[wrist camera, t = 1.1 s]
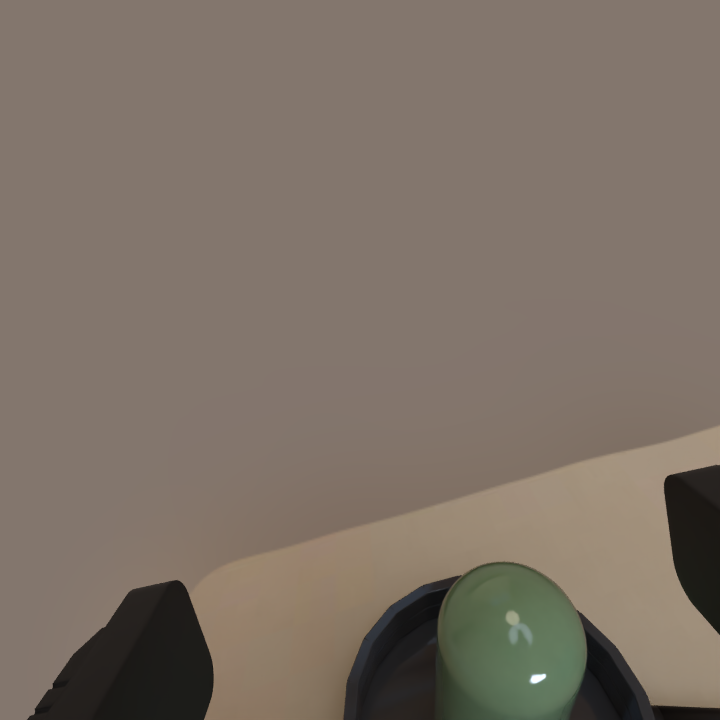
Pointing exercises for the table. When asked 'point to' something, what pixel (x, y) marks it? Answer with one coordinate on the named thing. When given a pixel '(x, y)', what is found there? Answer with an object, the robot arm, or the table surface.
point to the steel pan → (418, 665)
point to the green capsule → (508, 647)
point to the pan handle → (685, 713)
